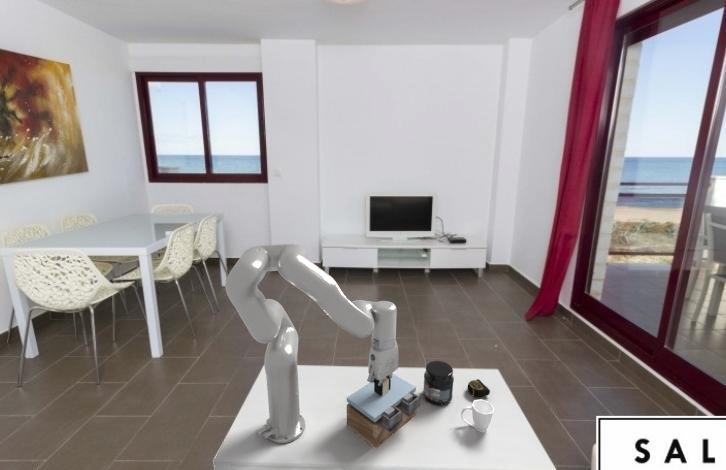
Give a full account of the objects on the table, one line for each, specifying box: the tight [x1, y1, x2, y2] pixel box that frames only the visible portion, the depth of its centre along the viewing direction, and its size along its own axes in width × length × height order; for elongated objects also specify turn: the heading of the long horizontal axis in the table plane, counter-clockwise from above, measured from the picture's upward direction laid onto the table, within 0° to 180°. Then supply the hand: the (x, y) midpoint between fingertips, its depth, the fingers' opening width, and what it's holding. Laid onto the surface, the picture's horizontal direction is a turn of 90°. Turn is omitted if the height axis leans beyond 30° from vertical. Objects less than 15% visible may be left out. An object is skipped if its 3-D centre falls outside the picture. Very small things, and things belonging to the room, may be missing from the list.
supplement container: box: [422, 360, 455, 407], centre depth 130 cm, size 10×10×12 cm
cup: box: [460, 398, 495, 433], centre depth 116 cm, size 7×10×8 cm
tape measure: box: [466, 378, 491, 399], centre depth 133 cm, size 7×7×4 cm
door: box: [346, 372, 417, 422], centre depth 116 cm, size 20×14×6 cm
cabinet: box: [346, 392, 421, 449], centre depth 118 cm, size 20×16×10 cm
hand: (382, 390), depth 117 cm, fingers closed on door, 3 cm apart
